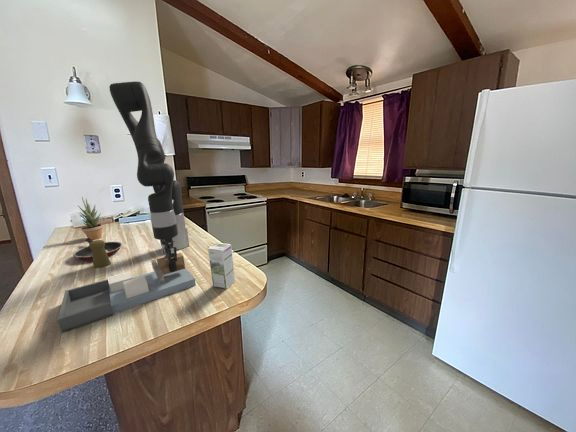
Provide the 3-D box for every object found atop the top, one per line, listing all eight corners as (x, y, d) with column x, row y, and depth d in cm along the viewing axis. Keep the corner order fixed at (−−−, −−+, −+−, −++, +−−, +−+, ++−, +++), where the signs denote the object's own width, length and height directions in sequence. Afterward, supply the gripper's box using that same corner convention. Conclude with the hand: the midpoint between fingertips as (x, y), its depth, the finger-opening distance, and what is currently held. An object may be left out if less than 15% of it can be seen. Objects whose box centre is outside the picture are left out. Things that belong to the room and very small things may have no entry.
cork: (101, 268, 100) (95, 243, 97) (89, 267, 101) (83, 243, 98) (114, 262, 105) (108, 238, 102) (103, 261, 106) (97, 238, 104)
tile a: (146, 284, 81) (144, 276, 81) (148, 291, 77) (147, 283, 76) (125, 290, 78) (123, 282, 77) (126, 298, 73) (124, 289, 72)
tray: (110, 289, 83) (107, 279, 82) (112, 315, 70) (109, 303, 68) (68, 301, 77) (65, 290, 76) (62, 332, 63) (57, 319, 62)
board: (183, 269, 97) (182, 263, 96) (195, 285, 84) (194, 278, 84) (110, 290, 83) (108, 284, 82) (112, 313, 70) (110, 306, 70)
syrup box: (235, 281, 86) (232, 243, 83) (226, 289, 81) (222, 249, 77) (222, 278, 88) (217, 241, 84) (212, 287, 83) (207, 248, 79)
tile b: (131, 279, 85) (129, 271, 84) (133, 285, 80) (131, 277, 80) (110, 284, 82) (108, 276, 81) (111, 292, 77) (109, 284, 76)
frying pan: (79, 267, 102) (77, 259, 101) (65, 250, 122) (63, 243, 121) (129, 252, 116) (127, 245, 115) (109, 239, 136) (108, 233, 135)
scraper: (178, 260, 94) (177, 248, 93) (189, 273, 83) (187, 260, 82) (152, 267, 89) (150, 255, 87) (160, 282, 78) (157, 268, 77)
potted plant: (91, 236, 143) (81, 195, 136) (108, 235, 144) (99, 194, 137) (79, 242, 133) (67, 198, 127) (97, 240, 134) (87, 197, 128)
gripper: (181, 225, 79) (188, 273, 83) (171, 217, 89) (178, 259, 94) (156, 230, 74) (165, 280, 79) (148, 221, 85) (156, 265, 89)
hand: (172, 269), depth 86 cm, fingers closed on scraper, 3 cm apart
